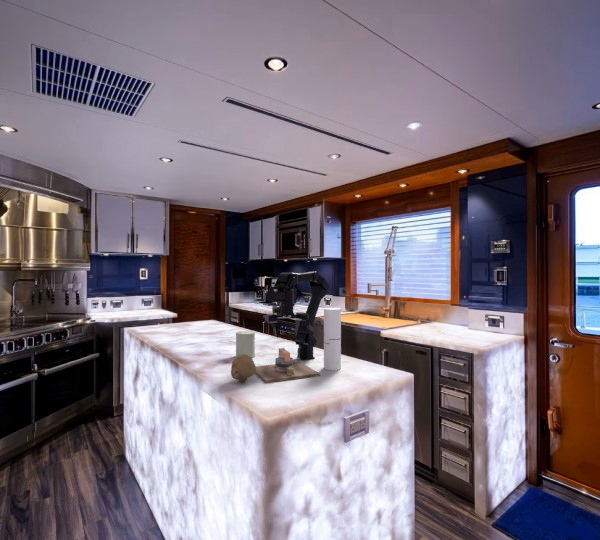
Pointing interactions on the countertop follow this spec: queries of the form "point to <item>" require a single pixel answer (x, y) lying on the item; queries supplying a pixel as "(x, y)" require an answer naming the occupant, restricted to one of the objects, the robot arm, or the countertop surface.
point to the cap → (283, 358)
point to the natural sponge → (242, 367)
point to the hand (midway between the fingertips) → (286, 336)
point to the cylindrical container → (332, 338)
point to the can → (245, 343)
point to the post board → (284, 372)
